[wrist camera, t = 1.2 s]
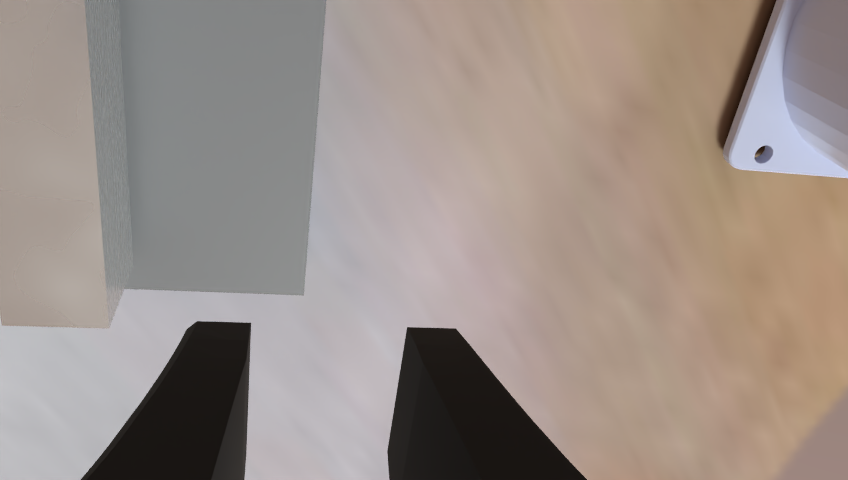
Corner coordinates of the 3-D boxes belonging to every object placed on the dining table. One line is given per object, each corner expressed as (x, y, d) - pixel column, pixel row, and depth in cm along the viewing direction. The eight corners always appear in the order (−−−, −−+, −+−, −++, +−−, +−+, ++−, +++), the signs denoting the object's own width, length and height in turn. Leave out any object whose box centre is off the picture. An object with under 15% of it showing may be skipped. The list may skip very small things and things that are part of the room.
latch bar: (-75, -387, 11) (-212, -464, 8) (133, -345, 12) (75, -403, 9) (16, 259, 17) (-47, 356, 14) (155, 266, 17) (124, 359, 14)
